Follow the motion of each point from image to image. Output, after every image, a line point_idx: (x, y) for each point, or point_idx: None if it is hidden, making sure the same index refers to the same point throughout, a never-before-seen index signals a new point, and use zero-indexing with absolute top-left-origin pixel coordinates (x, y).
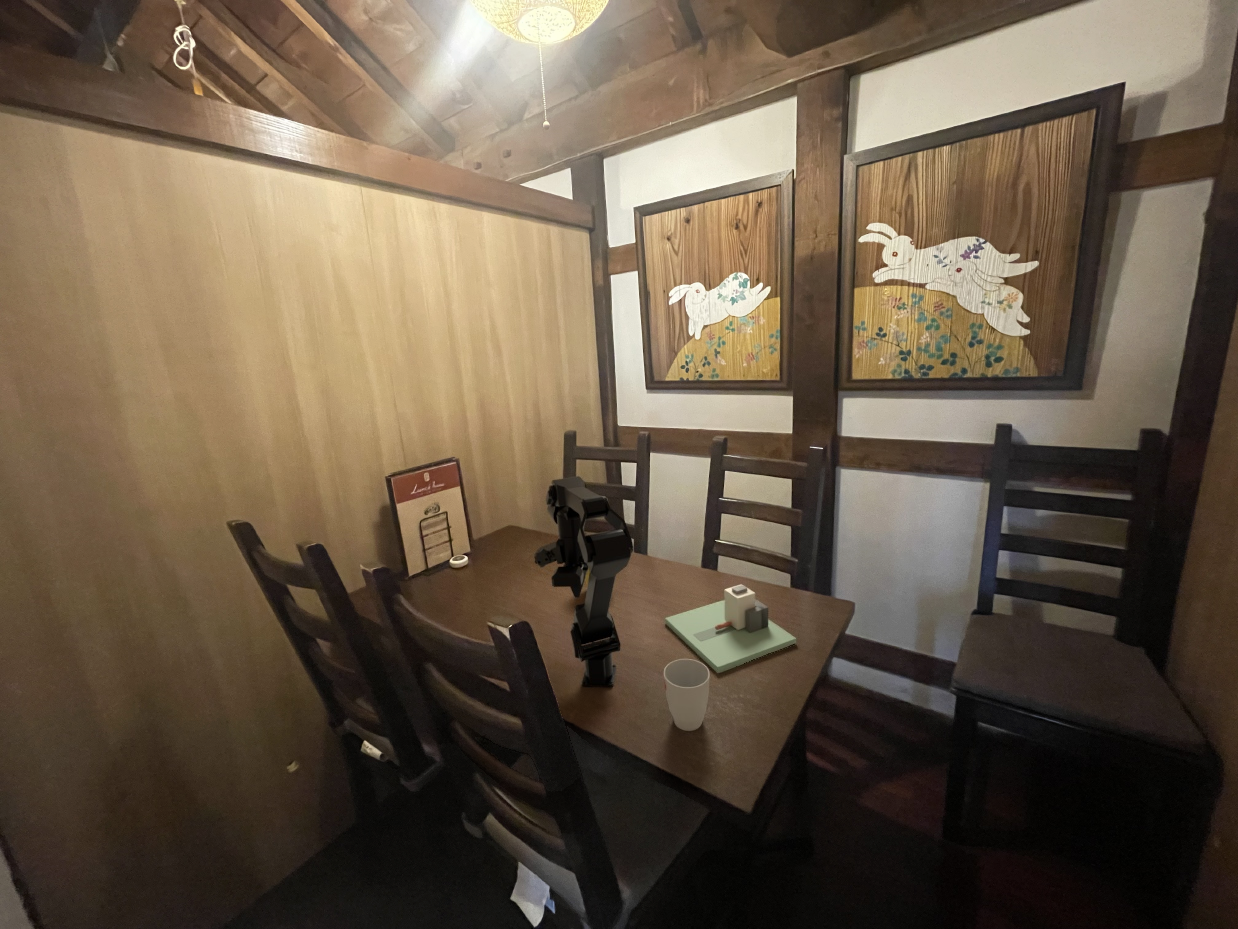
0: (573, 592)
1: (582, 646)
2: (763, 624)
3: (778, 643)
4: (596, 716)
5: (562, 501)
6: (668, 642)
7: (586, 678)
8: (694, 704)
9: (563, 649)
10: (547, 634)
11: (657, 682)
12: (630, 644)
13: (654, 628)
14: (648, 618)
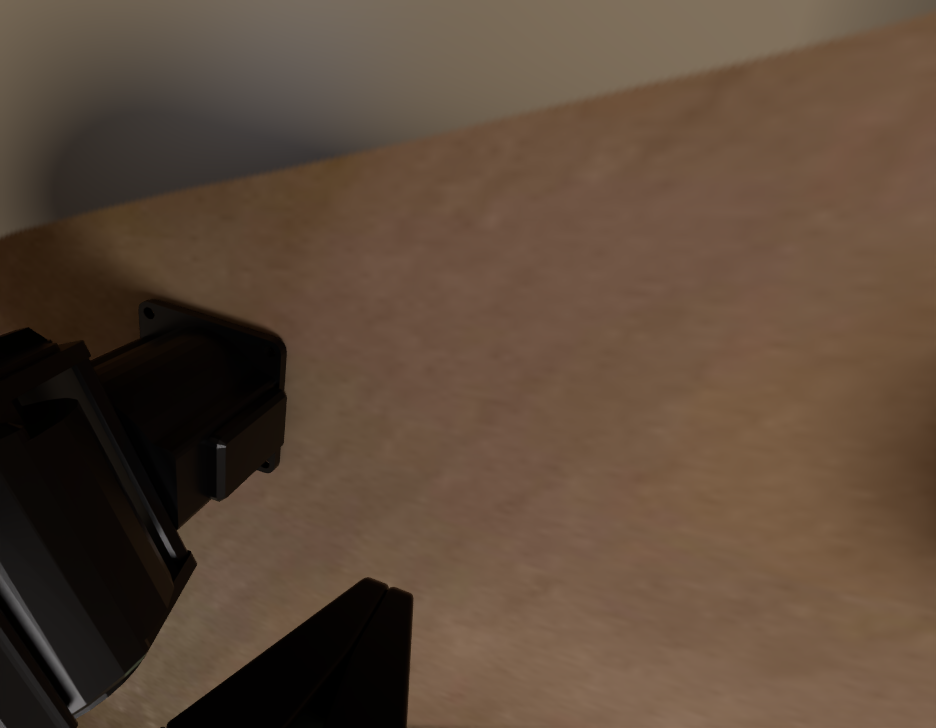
0: (294, 639)
1: (77, 396)
2: None
3: None
4: (5, 330)
5: None
6: (433, 696)
7: (179, 328)
8: None
9: (478, 217)
10: (733, 82)
11: (193, 571)
12: (450, 570)
13: (562, 699)
14: (671, 716)
